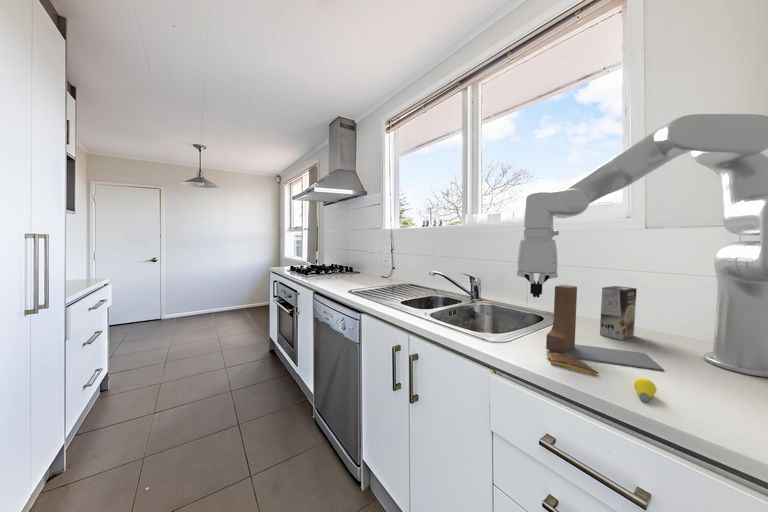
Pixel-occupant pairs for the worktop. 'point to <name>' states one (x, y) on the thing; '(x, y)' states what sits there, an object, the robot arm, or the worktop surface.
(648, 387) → the light bulb
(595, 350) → the mat
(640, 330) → the worktop surface
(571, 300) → the wooden block
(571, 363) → the sandwich
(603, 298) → the coffee box
